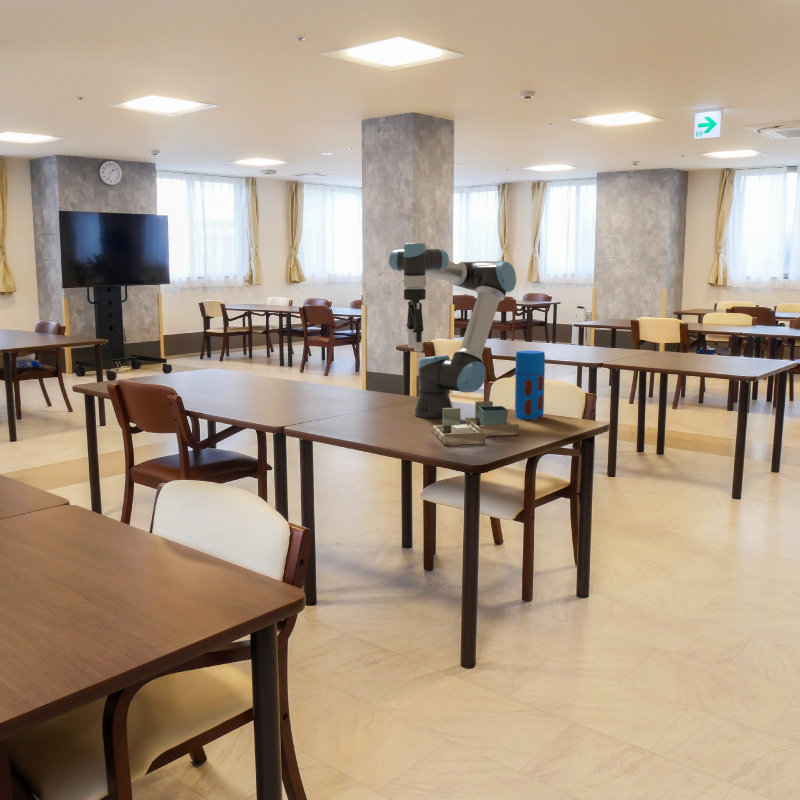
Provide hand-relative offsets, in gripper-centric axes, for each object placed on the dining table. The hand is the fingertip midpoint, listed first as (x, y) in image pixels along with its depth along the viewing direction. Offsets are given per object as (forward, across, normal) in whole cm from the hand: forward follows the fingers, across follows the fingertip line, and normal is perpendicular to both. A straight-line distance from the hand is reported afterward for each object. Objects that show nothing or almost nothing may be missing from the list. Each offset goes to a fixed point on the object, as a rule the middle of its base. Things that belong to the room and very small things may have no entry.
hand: (415, 349), depth 291 cm
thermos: (+29, -17, +47) cm, 58 cm away
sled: (+29, +16, +12) cm, 35 cm away
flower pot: (+29, +11, +26) cm, 40 cm away
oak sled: (+29, +4, +26) cm, 39 cm away
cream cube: (+29, +20, +12) cm, 37 cm away
